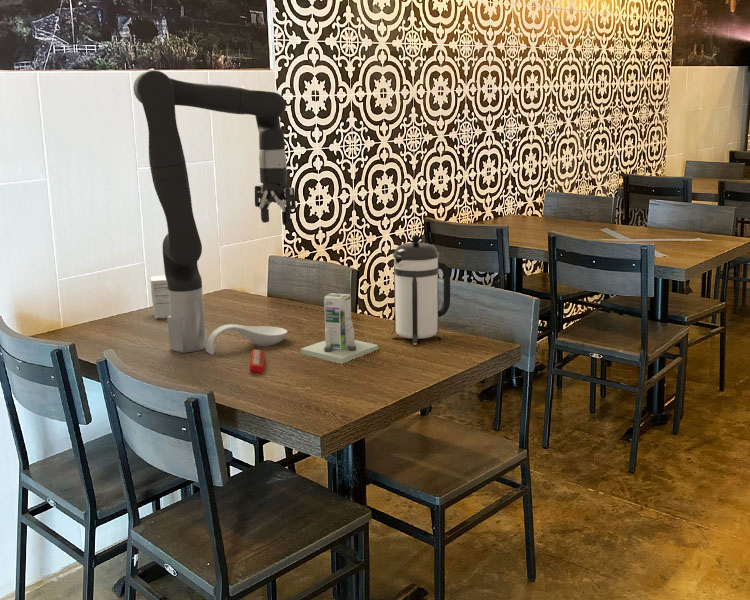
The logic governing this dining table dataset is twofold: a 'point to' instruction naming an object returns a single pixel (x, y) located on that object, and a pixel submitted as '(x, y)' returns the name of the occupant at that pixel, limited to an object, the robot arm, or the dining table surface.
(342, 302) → the syrup box
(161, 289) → the mini drawer cabinet
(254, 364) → the candy bar
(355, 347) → the pale green square stand
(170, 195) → the robot arm
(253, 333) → the spoon rest
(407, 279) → the coffee press
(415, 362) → the dining table surface
